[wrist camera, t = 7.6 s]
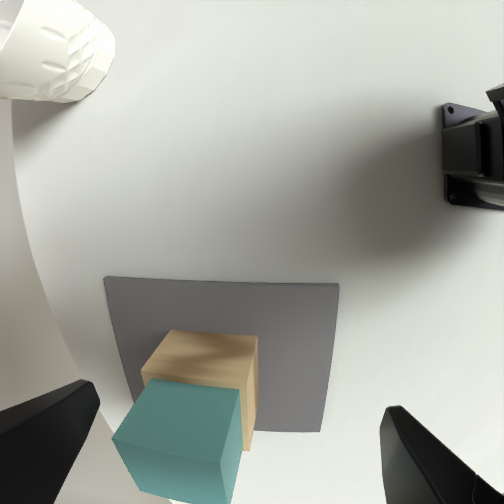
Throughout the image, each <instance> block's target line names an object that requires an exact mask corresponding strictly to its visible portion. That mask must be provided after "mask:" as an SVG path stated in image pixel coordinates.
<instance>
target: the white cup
mask: <svg viewBox="0 0 504 504" xmlns="http://www.w3.org/2000/svg"><path fill="white" fill-rule="evenodd" d="M114 56H115V37H114V36H113V34H112V33H111V31H110V29H109V28H108V27H107V26H106V25H104V24H103V23H102V22H100V21H99V20H98V19H96V18H95V17H94V16H93V15H92V14H91V13H90V12H89V11H88V10H87V9H85V8H84V7H82V6H81V5H80V4H79V3H77V2H76V1H75V0H0V98H3V99H16V100H32V101H53V102H60V103H69V102H74V101H79V100H81V99H82V98H84V97H85V96H87V95H88V94H89V93H91V92H92V91H94V90H95V89H96V87H97V86H98V85H99V84H100V82H101V81H102V80H103V78H104V77H105V76H106V75H107V73H108V71H109V68H110V66H111V63H112V61H113V58H114Z"/></svg>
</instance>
